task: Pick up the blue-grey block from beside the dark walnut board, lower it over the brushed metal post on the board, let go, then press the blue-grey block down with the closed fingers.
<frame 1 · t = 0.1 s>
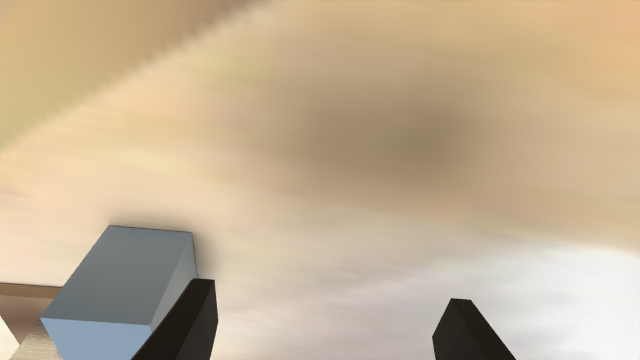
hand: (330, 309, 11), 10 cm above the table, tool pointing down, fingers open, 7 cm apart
post: (69, 319, 28), resting on board
blue-grey block: (156, 257, 24), on the table
board: (69, 319, 28), on the table
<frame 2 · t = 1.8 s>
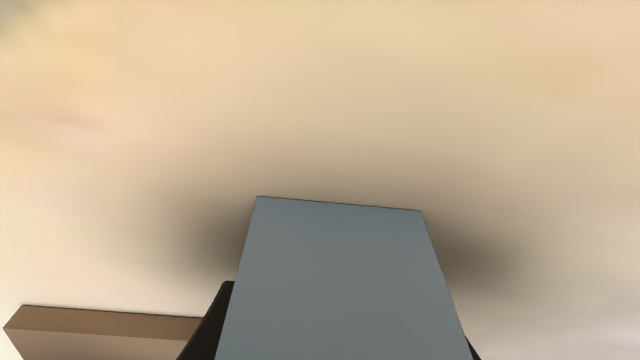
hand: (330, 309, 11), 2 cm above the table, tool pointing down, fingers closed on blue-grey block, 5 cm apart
blue-grey block: (329, 260, 13), on the table, touching gripper
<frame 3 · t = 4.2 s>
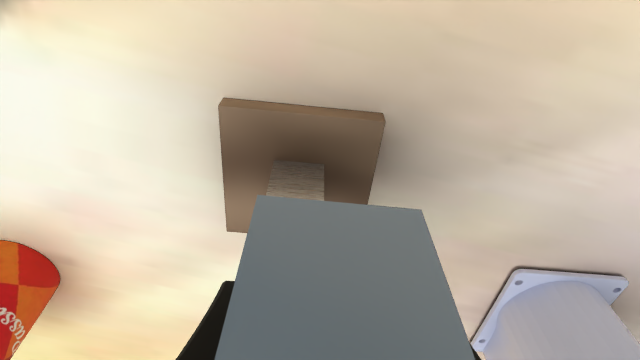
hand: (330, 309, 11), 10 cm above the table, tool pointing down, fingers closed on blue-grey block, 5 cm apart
post: (298, 172, 20), resting on board
blue-grey block: (330, 259, 13), point 8 cm above the table, touching gripper
paper cup: (19, 265, 25), on the table
board: (298, 172, 20), on the table
when the fingers open (4 cm above the table, at t = 6.5 s): blue-grey block stays where it is, resting on board.
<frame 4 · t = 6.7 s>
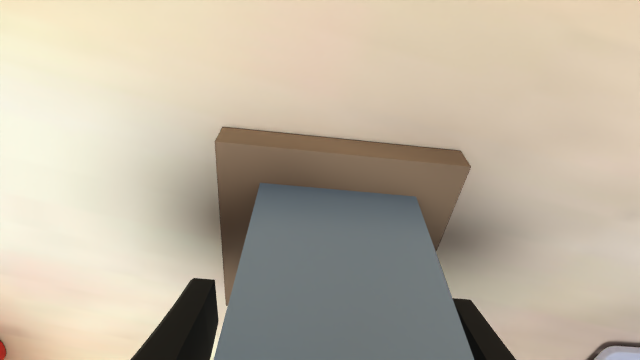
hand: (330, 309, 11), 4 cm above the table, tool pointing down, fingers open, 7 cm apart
blue-grey block: (329, 246, 13), point 1 cm above the table, touching board
board: (329, 228, 14), on the table
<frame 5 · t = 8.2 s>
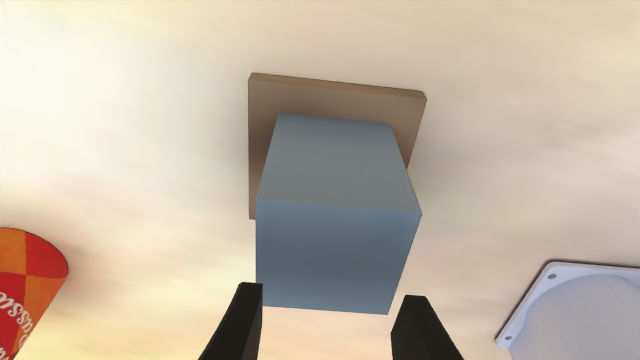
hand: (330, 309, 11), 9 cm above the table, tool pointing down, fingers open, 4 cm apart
blue-grey block: (328, 165, 18), point 1 cm above the table, touching board
paper cup: (26, 255, 24), on the table
board: (327, 155, 19), on the table
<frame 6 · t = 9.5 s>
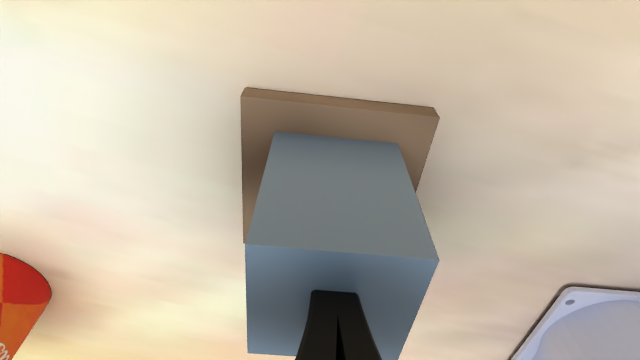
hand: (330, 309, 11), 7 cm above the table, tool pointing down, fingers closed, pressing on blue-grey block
blue-grey block: (329, 187, 16), point 1 cm above the table, touching board, gripper
paper cup: (5, 278, 22), on the table
board: (329, 176, 17), on the table
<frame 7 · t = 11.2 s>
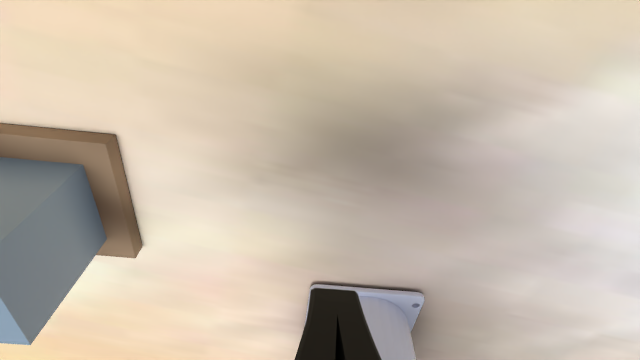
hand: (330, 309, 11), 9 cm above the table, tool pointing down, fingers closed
blue-grey block: (47, 200, 19), point 1 cm above the table, touching board
board: (58, 190, 20), on the table
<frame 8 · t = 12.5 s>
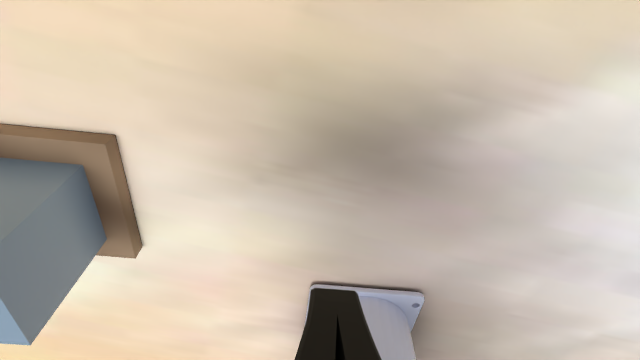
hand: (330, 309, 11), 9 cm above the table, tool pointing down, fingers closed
blue-grey block: (46, 200, 19), point 1 cm above the table, touching board
board: (58, 190, 20), on the table
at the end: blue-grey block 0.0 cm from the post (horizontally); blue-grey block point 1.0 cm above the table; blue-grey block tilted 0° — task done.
